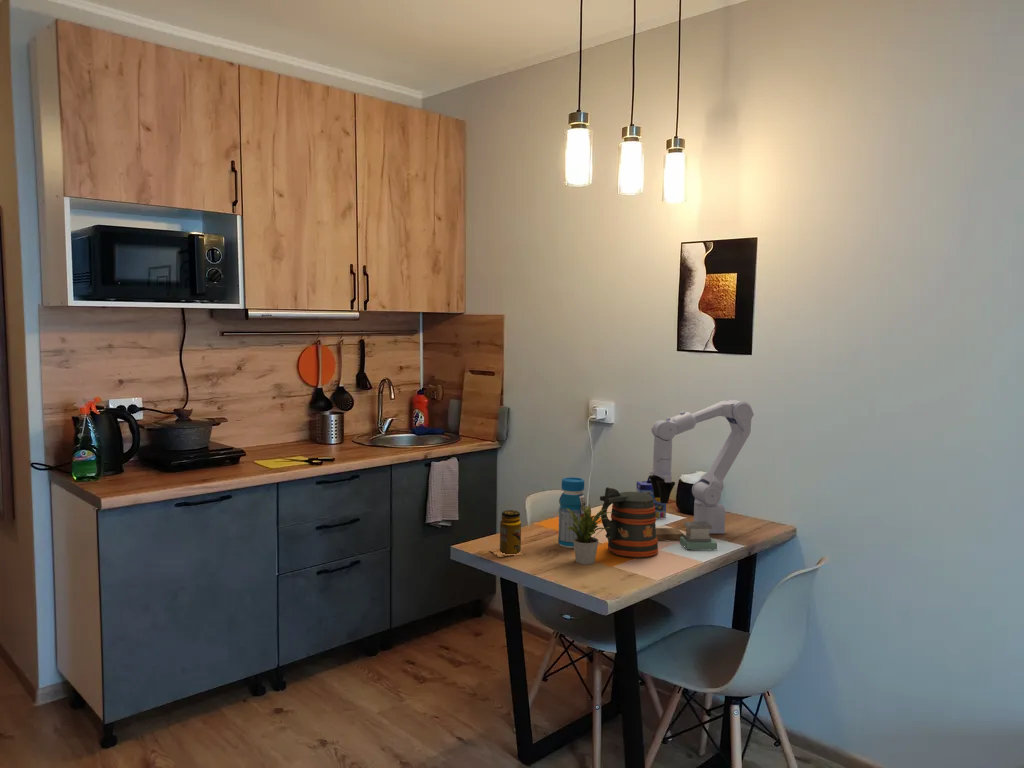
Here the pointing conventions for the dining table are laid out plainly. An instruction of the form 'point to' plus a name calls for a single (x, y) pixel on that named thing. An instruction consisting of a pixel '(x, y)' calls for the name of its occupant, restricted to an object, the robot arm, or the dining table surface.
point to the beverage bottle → (574, 502)
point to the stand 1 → (668, 534)
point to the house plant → (586, 535)
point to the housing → (697, 531)
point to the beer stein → (630, 523)
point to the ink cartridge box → (647, 487)
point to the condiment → (510, 532)
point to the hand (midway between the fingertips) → (660, 500)
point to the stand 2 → (698, 544)
